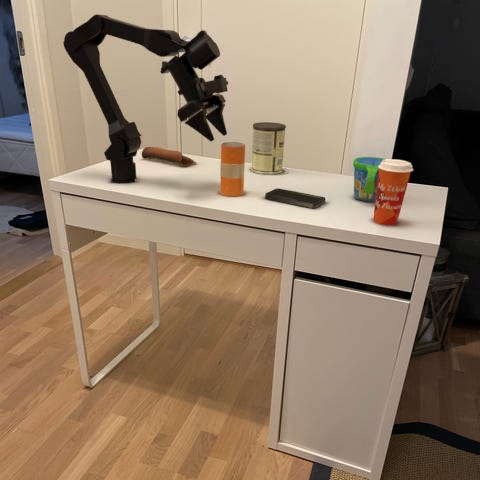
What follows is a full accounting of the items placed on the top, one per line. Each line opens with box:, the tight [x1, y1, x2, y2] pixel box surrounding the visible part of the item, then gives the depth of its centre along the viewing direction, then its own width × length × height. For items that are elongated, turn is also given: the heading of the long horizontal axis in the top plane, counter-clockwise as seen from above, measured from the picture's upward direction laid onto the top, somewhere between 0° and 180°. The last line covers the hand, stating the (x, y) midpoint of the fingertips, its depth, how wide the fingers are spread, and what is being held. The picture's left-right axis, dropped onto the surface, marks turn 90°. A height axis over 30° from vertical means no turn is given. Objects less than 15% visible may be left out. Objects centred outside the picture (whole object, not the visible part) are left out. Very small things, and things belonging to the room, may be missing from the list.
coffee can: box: [250, 121, 287, 175], centre depth 155 cm, size 10×10×14 cm
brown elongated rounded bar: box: [141, 146, 197, 168], centre depth 164 cm, size 18×7×7 cm, turn 57°
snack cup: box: [352, 156, 387, 203], centre depth 132 cm, size 16×10×10 cm
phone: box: [264, 188, 326, 209], centre depth 130 cm, size 8×1×15 cm
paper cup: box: [372, 158, 414, 226], centre depth 114 cm, size 8×8×14 cm
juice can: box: [219, 141, 246, 197], centre depth 131 cm, size 6×6×13 cm
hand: (219, 137), depth 127 cm, fingers open, 9 cm apart
